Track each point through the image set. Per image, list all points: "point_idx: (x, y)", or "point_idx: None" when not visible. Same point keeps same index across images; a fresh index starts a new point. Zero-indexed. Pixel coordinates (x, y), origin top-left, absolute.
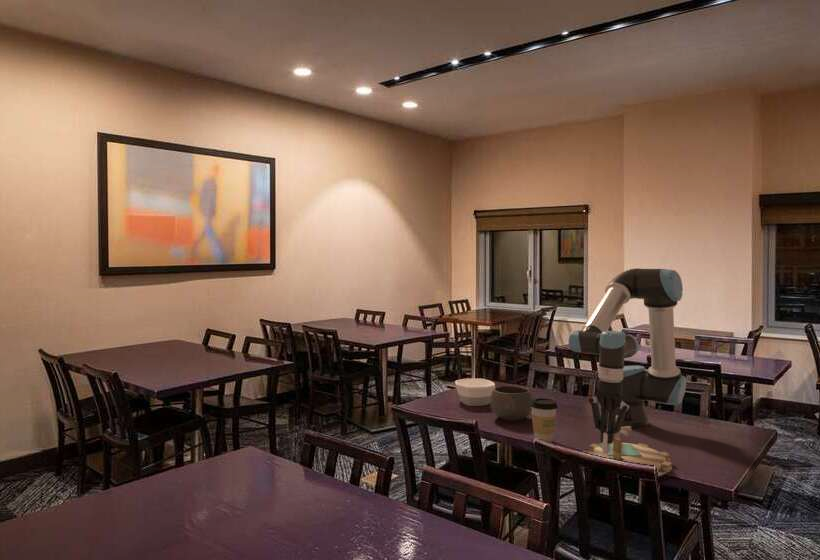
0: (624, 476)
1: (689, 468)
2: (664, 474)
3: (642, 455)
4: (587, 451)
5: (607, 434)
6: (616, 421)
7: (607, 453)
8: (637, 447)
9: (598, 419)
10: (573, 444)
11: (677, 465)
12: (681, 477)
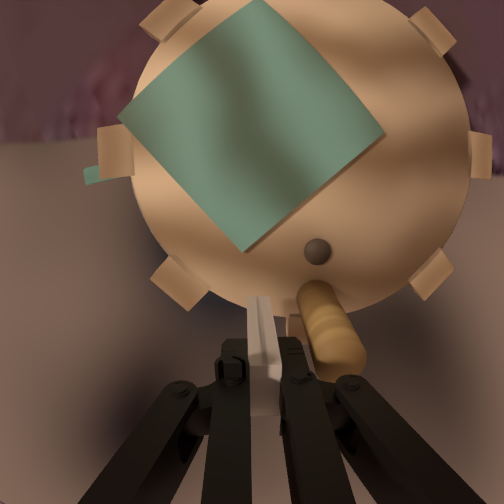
0: None
1: (482, 50)
2: None
3: (379, 116)
4: None
5: (278, 408)
6: (371, 491)
7: (232, 236)
8: (306, 13)
9: (177, 468)
10: (23, 112)
11: None
12: (494, 158)
